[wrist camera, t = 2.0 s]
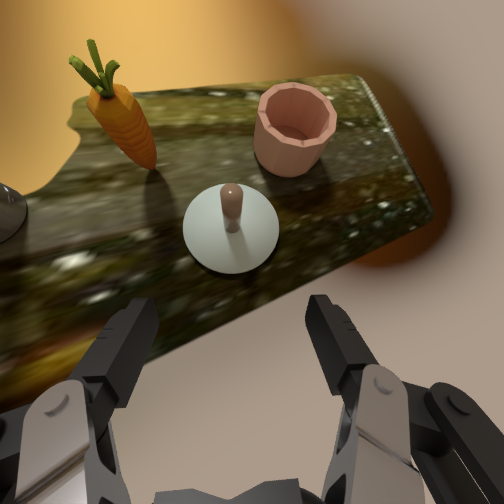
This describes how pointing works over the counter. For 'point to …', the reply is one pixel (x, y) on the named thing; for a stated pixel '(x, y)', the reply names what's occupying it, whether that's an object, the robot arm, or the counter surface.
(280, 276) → the counter surface
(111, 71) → the carrot
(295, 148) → the terracotta pot
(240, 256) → the celadon lid
